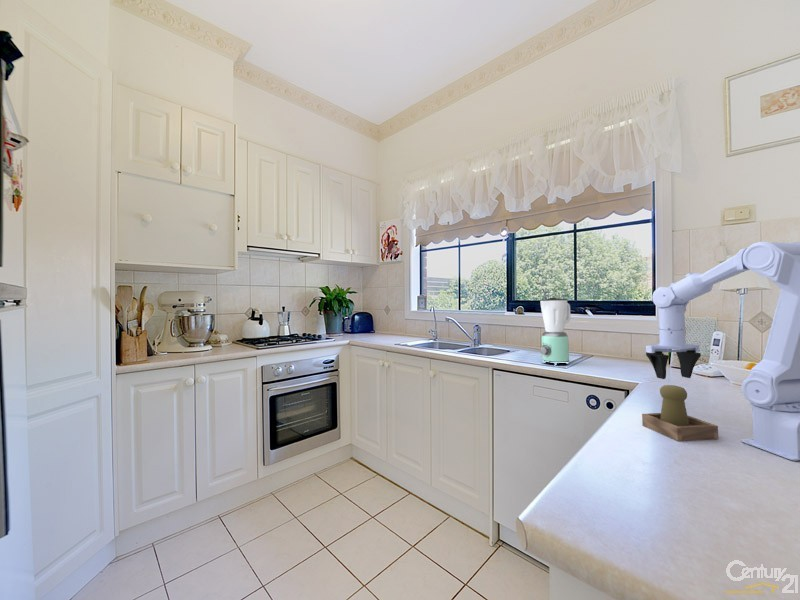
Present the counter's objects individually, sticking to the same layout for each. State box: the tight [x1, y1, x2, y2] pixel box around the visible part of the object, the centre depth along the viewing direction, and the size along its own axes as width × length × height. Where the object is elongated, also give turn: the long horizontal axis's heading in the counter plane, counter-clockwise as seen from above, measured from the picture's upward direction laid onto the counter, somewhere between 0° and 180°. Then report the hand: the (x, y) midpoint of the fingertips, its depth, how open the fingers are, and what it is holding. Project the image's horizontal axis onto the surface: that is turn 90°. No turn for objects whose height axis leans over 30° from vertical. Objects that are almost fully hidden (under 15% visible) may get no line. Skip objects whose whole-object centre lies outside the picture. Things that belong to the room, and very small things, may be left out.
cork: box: [659, 384, 689, 426], centre depth 81 cm, size 6×6×11 cm
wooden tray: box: [641, 412, 719, 442], centre depth 80 cm, size 10×10×3 cm
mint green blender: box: [539, 297, 571, 363], centre depth 175 cm, size 19×13×35 cm
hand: (673, 377), depth 93 cm, fingers open, 7 cm apart
